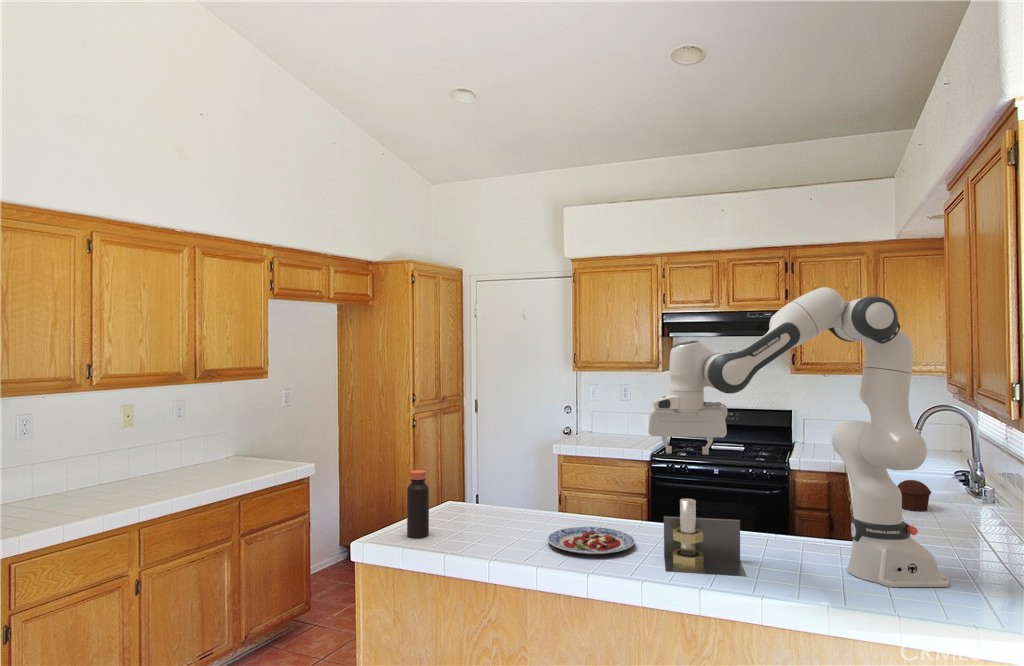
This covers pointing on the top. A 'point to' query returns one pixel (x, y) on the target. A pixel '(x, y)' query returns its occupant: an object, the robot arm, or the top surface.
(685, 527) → the grey metal rod
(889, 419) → the robot arm
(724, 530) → the collar stand
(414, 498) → the bottle
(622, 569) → the top surface
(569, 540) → the ceramic plate
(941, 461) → the top surface
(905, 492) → the muffin
